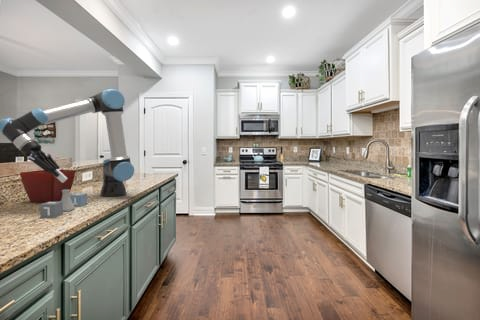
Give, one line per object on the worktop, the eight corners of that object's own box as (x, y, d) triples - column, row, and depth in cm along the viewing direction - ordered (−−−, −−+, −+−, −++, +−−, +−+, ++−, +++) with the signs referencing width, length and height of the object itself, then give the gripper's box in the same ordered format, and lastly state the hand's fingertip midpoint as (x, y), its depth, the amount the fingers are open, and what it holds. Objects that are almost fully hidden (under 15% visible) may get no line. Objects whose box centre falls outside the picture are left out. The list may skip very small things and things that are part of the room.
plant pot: (46, 196, 164) (45, 169, 164) (76, 197, 164) (76, 169, 163) (19, 203, 145) (18, 172, 145) (53, 204, 145) (53, 172, 144)
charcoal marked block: (49, 214, 123) (49, 201, 123) (62, 214, 123) (62, 201, 123) (40, 218, 117) (39, 204, 117) (54, 218, 117) (54, 204, 117)
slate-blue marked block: (75, 204, 145) (75, 193, 145) (87, 204, 145) (87, 193, 145) (69, 206, 139) (68, 195, 139) (81, 206, 139) (80, 195, 139)
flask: (78, 208, 134) (78, 189, 134) (67, 212, 127) (67, 191, 127) (64, 208, 135) (64, 188, 135) (53, 211, 128) (53, 190, 128)
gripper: (32, 150, 135) (67, 184, 137) (11, 151, 122) (50, 188, 124) (42, 140, 135) (77, 173, 137) (23, 139, 122) (62, 176, 124)
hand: (64, 180), depth 130 cm, fingers closed
